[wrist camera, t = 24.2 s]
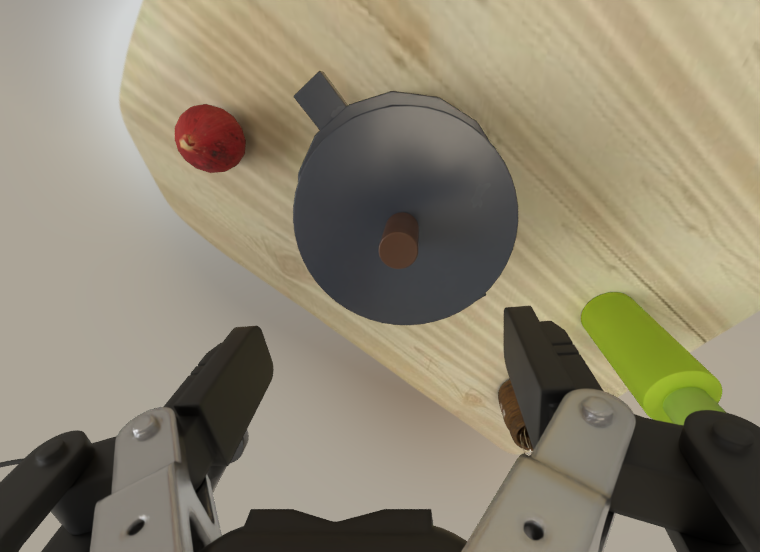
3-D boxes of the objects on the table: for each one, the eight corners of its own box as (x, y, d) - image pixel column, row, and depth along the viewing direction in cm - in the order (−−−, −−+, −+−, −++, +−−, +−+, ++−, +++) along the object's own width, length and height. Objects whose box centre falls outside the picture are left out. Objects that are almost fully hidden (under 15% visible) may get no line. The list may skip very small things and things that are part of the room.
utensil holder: (523, 366, 46) (556, 448, 36) (554, 394, 48) (594, 480, 37) (487, 390, 49) (507, 474, 38) (517, 416, 50) (545, 503, 39)
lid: (377, 348, 31) (367, 397, 26) (255, 194, 27) (212, 213, 21) (553, 253, 26) (588, 289, 21) (438, 49, 22) (444, 26, 17)
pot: (404, 282, 43) (400, 349, 31) (285, 138, 37) (228, 157, 25) (519, 209, 38) (562, 257, 26) (402, 28, 32) (395, -9, 20)
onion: (268, 130, 36) (231, 139, 29) (241, 176, 39) (202, 195, 32) (216, 90, 35) (165, 89, 28) (192, 141, 37) (139, 151, 30)
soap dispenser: (562, 318, 43) (668, 477, 25) (618, 282, 40) (780, 431, 22) (590, 348, 44) (709, 520, 26) (646, 316, 42) (818, 481, 24)
